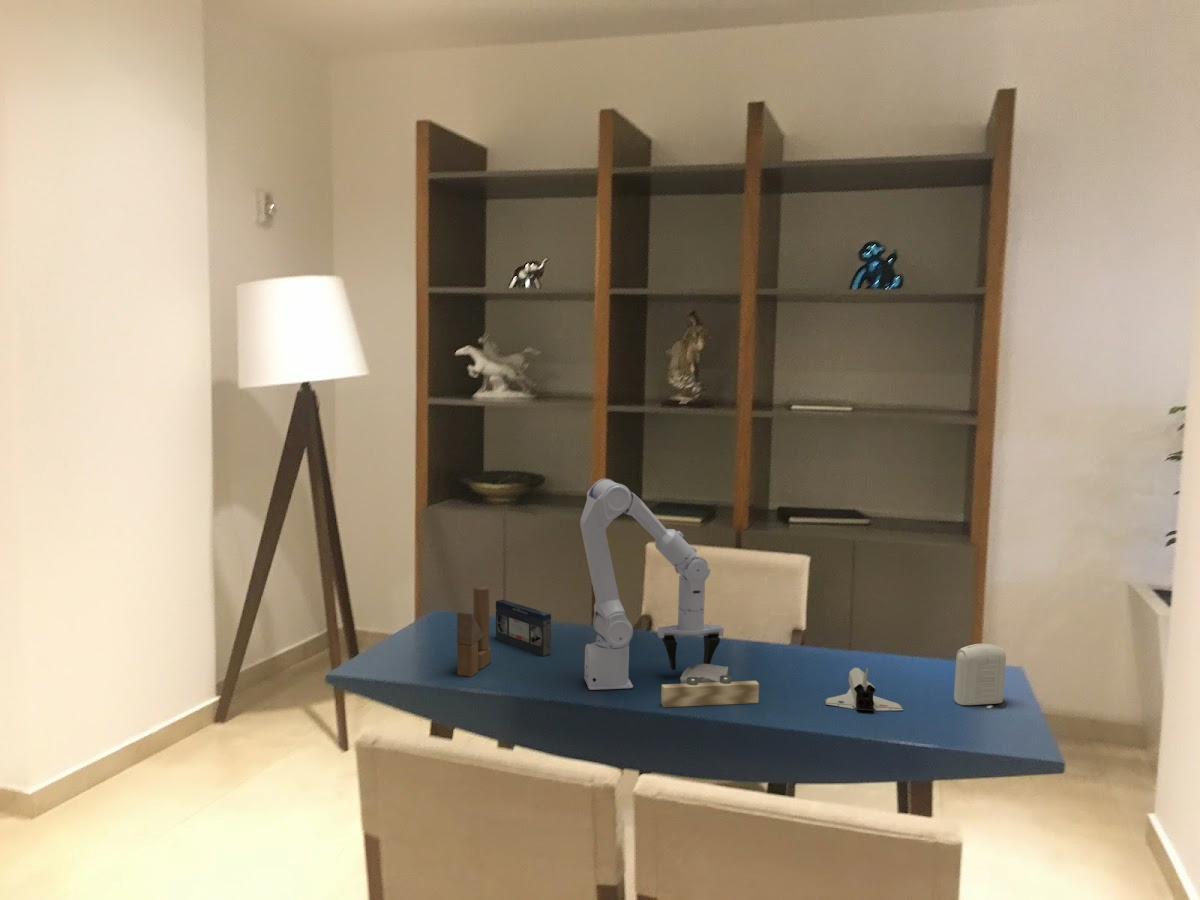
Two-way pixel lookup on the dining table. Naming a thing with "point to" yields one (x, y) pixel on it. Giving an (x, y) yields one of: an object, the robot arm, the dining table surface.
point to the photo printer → (979, 675)
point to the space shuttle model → (862, 695)
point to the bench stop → (709, 692)
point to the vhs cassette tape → (523, 627)
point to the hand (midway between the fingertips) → (689, 667)
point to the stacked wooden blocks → (474, 635)
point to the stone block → (704, 673)
